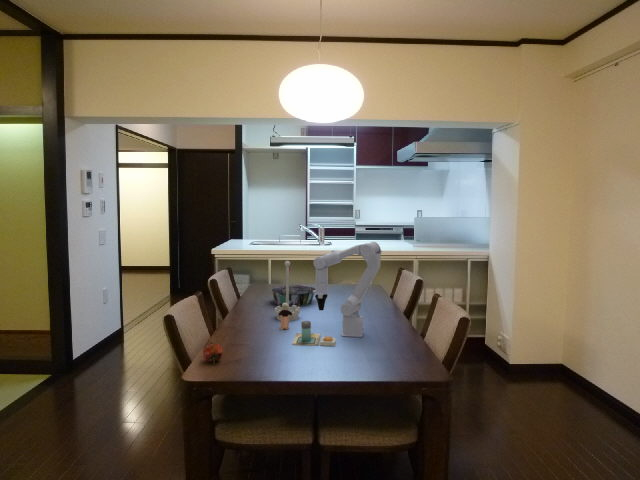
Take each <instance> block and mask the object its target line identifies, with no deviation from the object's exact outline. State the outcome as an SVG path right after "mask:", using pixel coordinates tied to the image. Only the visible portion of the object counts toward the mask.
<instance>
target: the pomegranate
mask: <svg viewBox="0 0 640 480" xmlns="http://www.w3.org/2000/svg"><path fill="white" fill-rule="evenodd" d="M202 352H203V355H202V356H203V358H204V360H205V361H206V362H208V363H210V362H213V365H214V366H215V365H216V364H215V362H217V361H220V360H221V359H222V357H223V355H224V349H223V347H222V346H221V345H220V344H219V343H215V342H214V343H213V342H212V341H211V342H210V344H208V345H206V346H205V347H204V349H203V351H202Z"/></svg>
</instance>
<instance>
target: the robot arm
mask: <svg viewBox="0 0 640 480" xmlns="http://www.w3.org/2000/svg"><path fill="white" fill-rule="evenodd" d="M354 255H357V256H361V257H362V259H364V261H365V262H366V265H367V267H366V268H365V271H364V272H363V273H362V276H361V278H360V279H359V281H358V283H357V284H356V286H355V287H354V289H353V292H352V293H351V295H350V296H349V297H348V298H347V299H346V301H344V303H342V304H341V306H340V313H341V314H342V330H341V337H354V338H356V337H357V338H358V337H359V338H363V336H364V335H363V334H364V316H363V315H360V314H359V312H360V310H361V309H362V302H363V298H364V296H365V295H366V292H367V291H368V289H369V288H370V286H371V285H372V282H373V280H374V279H375V277H376V275H377V274H378V272H379V270H380V269H381V267H382V265H381V263H382V261H381V260H382V257H381V255H382V249H381V246H380V244H378V242H376V241H371V242H367V243H362V244H357V245H353V246H351V247H349V248H346V249H344V250H342V251H339V250H335V249H333V250H331V251H330V252H329V253H323V254H322V255H321V256H317V257H316V258H314V260H313V266H314V268H315V279H314V280H315V287H314V288H315V290H313V292H314V297H315V300H316V302H317V307H318V311H324V310H325V304H326V300H327V298H328V292H329V290H328V287H329V286H328V283H329V282H328V278H329V277H328V276H329V275H328V272H329V271H328V270H329V267H331V266H333V265H336V264H339V263H341V262H343V259H344V258H347V257H351V256H354Z"/></svg>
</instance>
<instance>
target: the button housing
mask: <svg viewBox="0 0 640 480" xmlns="http://www.w3.org/2000/svg"><path fill="white" fill-rule="evenodd" d="M319 343H320V344H319V346H320V347H335V346H336V337H332V342H330V341H324V337H321V336H320V340H319Z"/></svg>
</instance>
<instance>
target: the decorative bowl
mask: <svg viewBox="0 0 640 480" xmlns="http://www.w3.org/2000/svg"><path fill="white" fill-rule="evenodd" d="M313 290H315V287H313V286H309V285H301V284H300V285H299V284H298V285H297V284H296V285H290V284H289V307H292V305H295V306H297V307H305V306H308V305H311V304H312V301H313V299H314V297H315V293H314V292H313ZM270 292H271V294H272V297H273V299H274V300H273V301H274V303H275V304H276V305H277V306H281V307H282V304H283V303H286V285H283V286H282V285H281V286H276V287H274V288H271V289H270Z"/></svg>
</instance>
